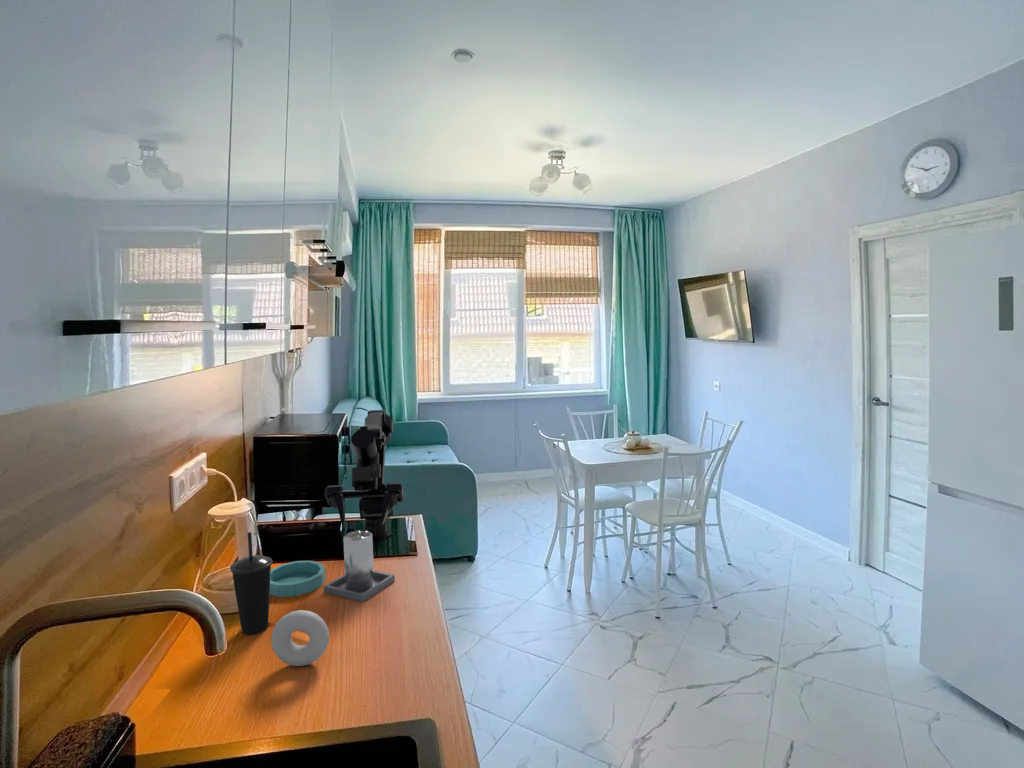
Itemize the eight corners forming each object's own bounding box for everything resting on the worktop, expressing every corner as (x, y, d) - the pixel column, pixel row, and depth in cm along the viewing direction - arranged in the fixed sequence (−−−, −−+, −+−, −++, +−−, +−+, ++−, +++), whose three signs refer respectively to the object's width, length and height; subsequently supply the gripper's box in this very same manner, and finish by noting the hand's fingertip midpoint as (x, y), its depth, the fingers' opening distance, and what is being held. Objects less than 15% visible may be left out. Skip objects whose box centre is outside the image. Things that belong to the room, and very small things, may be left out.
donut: (332, 657, 101) (330, 605, 100) (327, 668, 98) (325, 614, 97) (276, 660, 100) (273, 607, 99) (269, 672, 97) (266, 617, 96)
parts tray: (357, 575, 135) (357, 566, 135) (394, 583, 130) (394, 575, 130) (324, 595, 125) (323, 586, 125) (362, 605, 120) (362, 595, 120)
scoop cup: (358, 578, 132) (356, 525, 130) (380, 583, 129) (377, 528, 128) (339, 589, 126) (337, 534, 125) (361, 595, 123) (359, 538, 122)
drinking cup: (265, 639, 107) (259, 539, 105) (226, 639, 107) (219, 540, 105) (282, 618, 115) (277, 525, 113) (246, 618, 115) (240, 526, 113)
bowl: (297, 570, 138) (296, 557, 138) (336, 580, 132) (336, 566, 132) (253, 593, 126) (252, 578, 126) (294, 604, 121) (293, 589, 120)
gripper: (324, 454, 136) (316, 512, 126) (401, 451, 138) (399, 507, 128) (331, 477, 144) (325, 533, 134) (404, 473, 146) (402, 528, 137)
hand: (362, 525), depth 133 cm, fingers open, 9 cm apart
